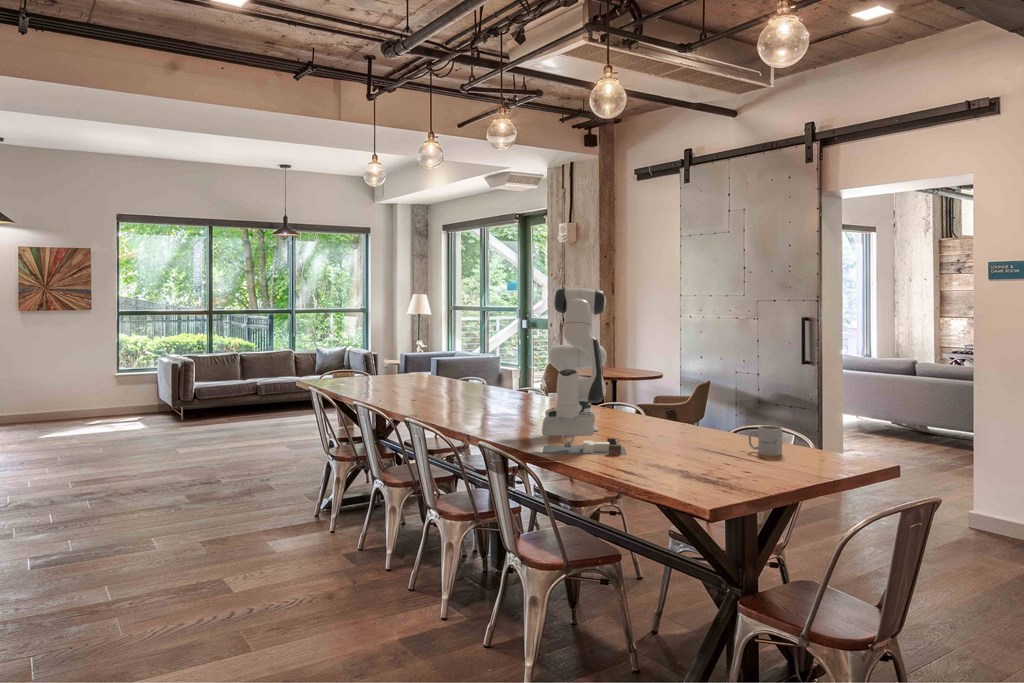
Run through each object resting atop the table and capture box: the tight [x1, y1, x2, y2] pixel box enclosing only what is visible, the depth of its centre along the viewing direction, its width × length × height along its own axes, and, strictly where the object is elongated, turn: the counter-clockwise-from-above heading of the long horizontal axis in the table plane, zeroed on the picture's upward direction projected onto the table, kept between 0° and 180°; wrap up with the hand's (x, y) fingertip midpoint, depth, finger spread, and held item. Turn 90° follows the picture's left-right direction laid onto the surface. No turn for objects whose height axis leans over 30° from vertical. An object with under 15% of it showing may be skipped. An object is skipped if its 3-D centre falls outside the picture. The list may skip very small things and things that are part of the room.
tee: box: [582, 440, 609, 453], centre depth 291 cm, size 9×10×3 cm
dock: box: [606, 437, 622, 456], centre depth 290 cm, size 16×4×4 cm, turn 175°
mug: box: [748, 425, 783, 457], centre depth 288 cm, size 12×9×10 cm
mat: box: [541, 445, 628, 456], centre depth 292 cm, size 16×32×1 cm, turn 85°
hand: (567, 447), depth 292 cm, fingers closed
